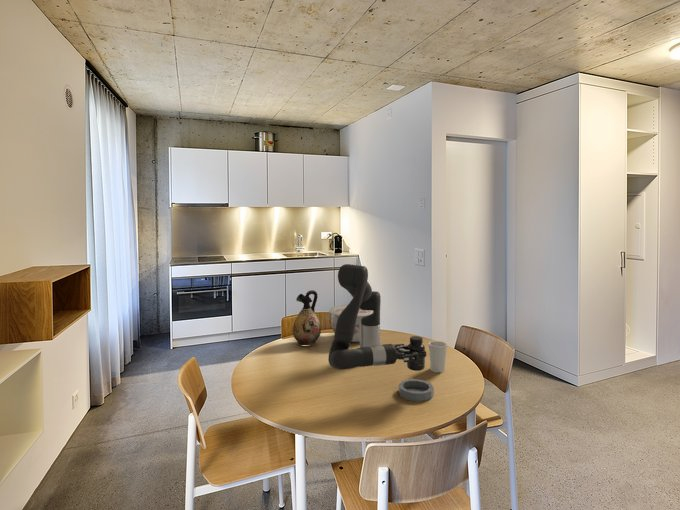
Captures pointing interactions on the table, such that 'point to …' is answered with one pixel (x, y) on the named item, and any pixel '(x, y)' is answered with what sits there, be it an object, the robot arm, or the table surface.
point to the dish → (416, 390)
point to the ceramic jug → (307, 321)
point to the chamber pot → (336, 311)
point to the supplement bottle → (415, 347)
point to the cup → (437, 356)
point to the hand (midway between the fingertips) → (421, 350)
